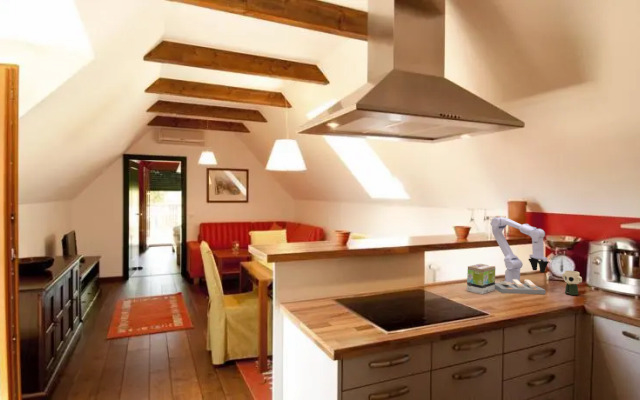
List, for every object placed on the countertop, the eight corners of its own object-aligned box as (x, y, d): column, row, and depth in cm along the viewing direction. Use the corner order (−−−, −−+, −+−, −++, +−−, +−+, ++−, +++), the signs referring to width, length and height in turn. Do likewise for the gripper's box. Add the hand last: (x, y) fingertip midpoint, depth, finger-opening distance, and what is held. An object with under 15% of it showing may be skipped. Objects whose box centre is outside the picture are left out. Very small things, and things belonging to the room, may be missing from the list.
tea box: (483, 294, 201) (483, 269, 200) (466, 291, 208) (466, 266, 208) (495, 290, 210) (495, 265, 210) (478, 286, 218) (479, 262, 218)
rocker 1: (500, 284, 214) (500, 281, 214) (505, 284, 214) (504, 281, 214) (506, 284, 206) (506, 282, 207) (511, 284, 206) (511, 282, 206)
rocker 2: (512, 281, 214) (512, 279, 213) (516, 281, 213) (517, 279, 213) (518, 287, 206) (518, 285, 206) (523, 287, 206) (523, 285, 205)
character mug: (557, 292, 206) (558, 270, 206) (566, 291, 208) (567, 269, 208) (576, 297, 196) (577, 274, 195) (585, 296, 198) (586, 273, 198)
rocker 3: (524, 281, 213) (524, 279, 213) (528, 281, 213) (529, 279, 213) (531, 287, 205) (531, 285, 205) (536, 288, 205) (536, 285, 205)
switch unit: (491, 286, 218) (492, 281, 217) (532, 287, 216) (532, 282, 216) (502, 293, 204) (502, 287, 203) (545, 294, 202) (545, 288, 202)
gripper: (524, 247, 221) (525, 269, 221) (538, 250, 207) (539, 273, 207) (535, 247, 221) (536, 269, 221) (550, 250, 207) (551, 273, 207)
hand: (538, 271), depth 214 cm, fingers open, 7 cm apart
